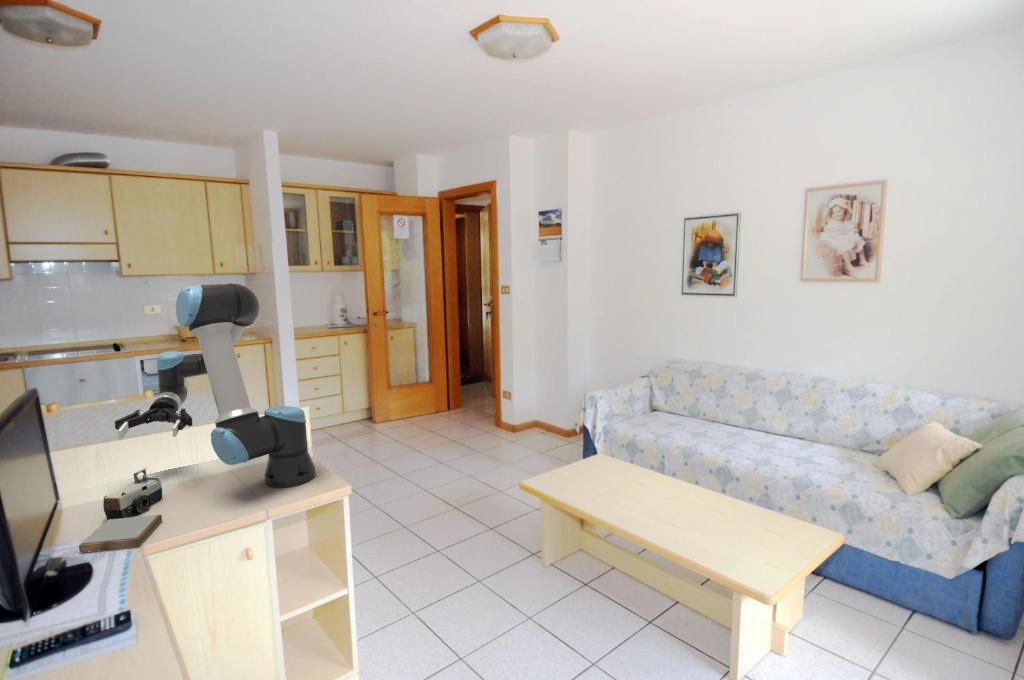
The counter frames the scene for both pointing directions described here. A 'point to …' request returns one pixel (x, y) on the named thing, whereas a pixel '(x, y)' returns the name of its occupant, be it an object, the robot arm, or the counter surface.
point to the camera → (133, 497)
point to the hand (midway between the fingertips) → (147, 433)
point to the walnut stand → (121, 533)
